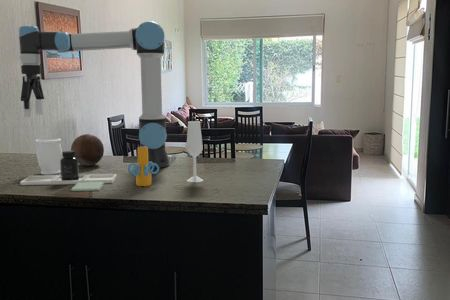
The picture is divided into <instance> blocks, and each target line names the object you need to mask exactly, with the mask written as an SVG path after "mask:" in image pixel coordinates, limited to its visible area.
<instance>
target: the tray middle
mask: <svg viewBox="0 0 450 300" xmlns="http://www.w3.org/2000/svg"><path fill="white" fill-rule="evenodd" d="M87 176H88V174H79V180H65V181H62V180H61V174H59V175H58V177H56V178H55V179H54V180H53V181H52V184H51V185H52V186H53V185H76V184H77V183H83V180H84V179H85V178H86V177H87Z"/></svg>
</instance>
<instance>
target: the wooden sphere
mask: <svg viewBox="0 0 450 300" xmlns="http://www.w3.org/2000/svg"><path fill="white" fill-rule="evenodd" d="M70 151H75V157H76V158H77V159H78V165H80V166H84V167H91V166H94V165H96V164H98V163H99V162H100V161H101V160H102V158H103V156H104V152H105V147H104V144H103V142H102V141H101V139H100V138H99V137H97V136H95V135H94V134H90V133H89V134H88V133H86V134H82V135H79V136H77V137H76V138H75V139H74V140H73V142H72V144H71V147H70Z"/></svg>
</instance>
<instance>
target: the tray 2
mask: <svg viewBox="0 0 450 300" xmlns="http://www.w3.org/2000/svg"><path fill="white" fill-rule="evenodd" d="M117 177H118V176H117V173H95V174H92V173H89V174H87V177H86V178H85V179H84V180H83V183H90V182H104V184H113V183H114V182H115V180H116V179H117Z"/></svg>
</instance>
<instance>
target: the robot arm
mask: <svg viewBox="0 0 450 300" xmlns="http://www.w3.org/2000/svg"><path fill="white" fill-rule="evenodd" d="M18 29H19V30H18V40H19V50H20V53H19V55H20V56H19V58H18V59H20V64H21V66H20V72H21V75H22V84H21V94H20V101H21V102H23V114H24V115H23V117H24V118H32V117H33V115H32V100H31V97H32V96H31V95H32V92H33V94H34V97H35V100H34V102H35V103H34V105H35V116H36V115H39V116H40V115H43V114H44V113H43V111H44V110H43V100H45V96H44V91H43V87H42V83H41V76H39V75H41V74H42V67H41V65H40V64H41V51H54V52H55V51H56V52H57V53H67V52H81V51H83V52H84V51H100V50H101V51H102V50H117V49H118V50H119V49H131V50H132V51H136V55H137V56H138V57H139V58H140V81H141V84H140V86H141V88H140V89H141V112H142V113H141V115H140V116H139V117H138V126H139V127H138V128H139V129H138V130H139V131H138V132H139V133H138V139H139V142H140V143H139V144H140V145H139V147H140V146H147V147H148V162H153V163H155V164H157V165H158V166H159V169H160V168H166V167H169V166H170V158H169V156H168V153H167V150H166V142H167V141H166V140H167V138H168V134H167V120H166V116H165V115H164V114H163V104H162V103H163V102H162V101H163V100H162V99H163V98H162V91H163V90H162V57H163V56H165V31H164V29H163V27H162V26H161V25H160V24H159V23H158V22H156V21H152V20H151V21H150V20H148V21H144V22H141V23H140V24H139V25H138V27H132V28H130V29H129V30H122V31H104V32H103V31H102V32H101V31H99V32H85V33H70V34H69V33H68V32H67V31H66V32H65V31H40V30H39V26H35V25H22V26H20V27H19V28H18ZM136 163H137V164H136V165H138V160H137V161H136ZM150 164H151V163H150ZM150 164H149V165H150ZM150 169H152V166H151V167H150ZM154 169H157V167H156V166H155V165H154Z"/></svg>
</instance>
